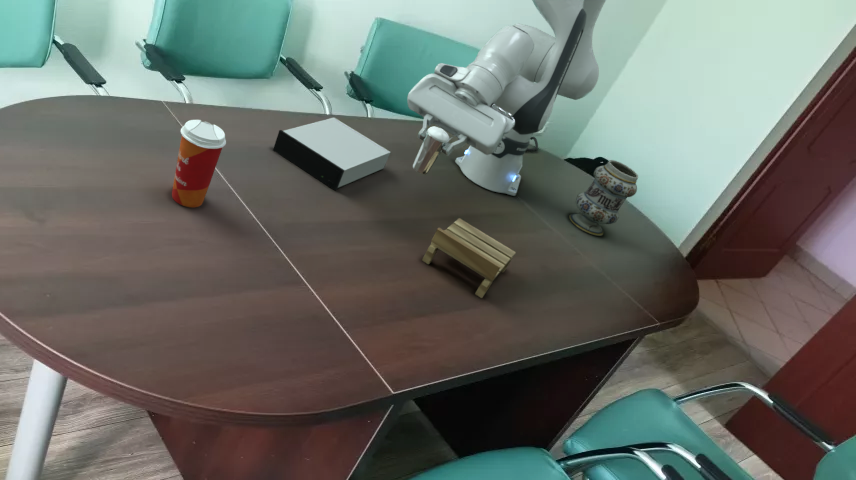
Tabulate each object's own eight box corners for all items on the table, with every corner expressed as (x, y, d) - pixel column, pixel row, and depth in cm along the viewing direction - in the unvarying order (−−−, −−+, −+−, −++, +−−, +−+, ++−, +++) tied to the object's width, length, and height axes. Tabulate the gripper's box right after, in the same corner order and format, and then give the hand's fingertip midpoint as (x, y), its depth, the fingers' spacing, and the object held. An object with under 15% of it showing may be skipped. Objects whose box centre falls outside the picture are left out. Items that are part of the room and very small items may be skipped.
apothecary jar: (614, 238, 181) (654, 182, 171) (587, 238, 174) (627, 180, 164) (584, 212, 188) (620, 157, 179) (557, 211, 181) (593, 153, 172)
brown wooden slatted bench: (450, 235, 147) (466, 205, 143) (505, 269, 144) (523, 239, 140) (420, 261, 133) (437, 229, 129) (480, 299, 130) (500, 267, 126)
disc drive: (272, 150, 149) (279, 129, 146) (327, 133, 167) (333, 115, 164) (334, 190, 144) (342, 171, 141) (384, 169, 162) (391, 151, 159)
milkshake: (433, 181, 131) (457, 137, 125) (408, 169, 130) (431, 125, 125) (434, 171, 135) (458, 128, 129) (410, 160, 134) (433, 116, 129)
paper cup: (169, 182, 123) (185, 113, 115) (210, 194, 125) (229, 127, 117) (162, 203, 117) (179, 132, 109) (206, 215, 119) (225, 146, 111)
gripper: (518, 127, 131) (476, 180, 129) (432, 78, 137) (391, 127, 135) (521, 109, 125) (478, 165, 123) (432, 59, 131) (389, 110, 129)
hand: (432, 145), depth 129 cm, fingers closed on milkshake, 4 cm apart
